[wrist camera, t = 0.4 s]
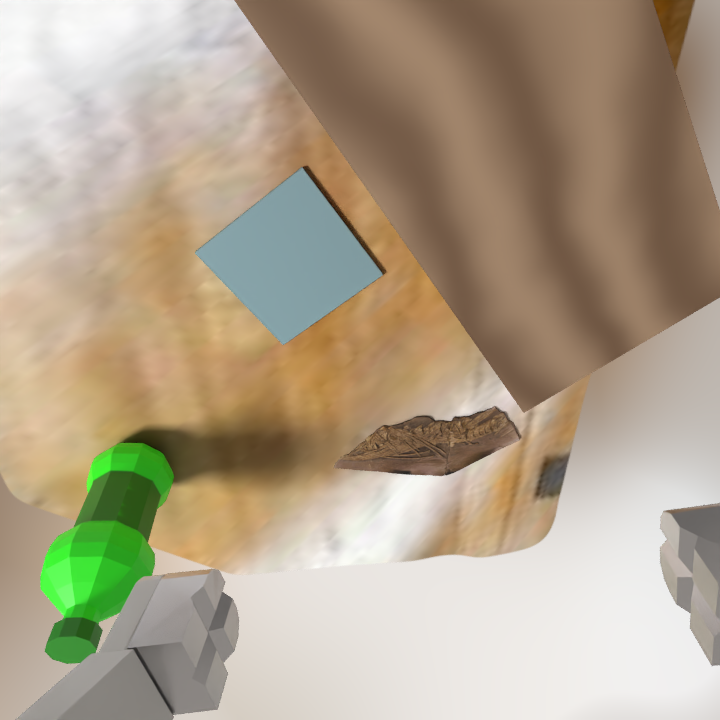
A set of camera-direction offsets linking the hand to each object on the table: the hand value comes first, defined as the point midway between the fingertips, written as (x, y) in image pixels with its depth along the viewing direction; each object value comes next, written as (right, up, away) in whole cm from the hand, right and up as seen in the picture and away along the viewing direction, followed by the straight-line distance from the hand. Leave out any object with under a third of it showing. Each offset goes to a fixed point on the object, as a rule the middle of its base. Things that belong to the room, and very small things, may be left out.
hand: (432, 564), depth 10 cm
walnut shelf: (+4, +29, +40) cm, 49 cm away
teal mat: (-9, +14, +47) cm, 50 cm away
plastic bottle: (-30, -9, +59) cm, 66 cm away
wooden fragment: (+8, -8, +63) cm, 64 cm away
